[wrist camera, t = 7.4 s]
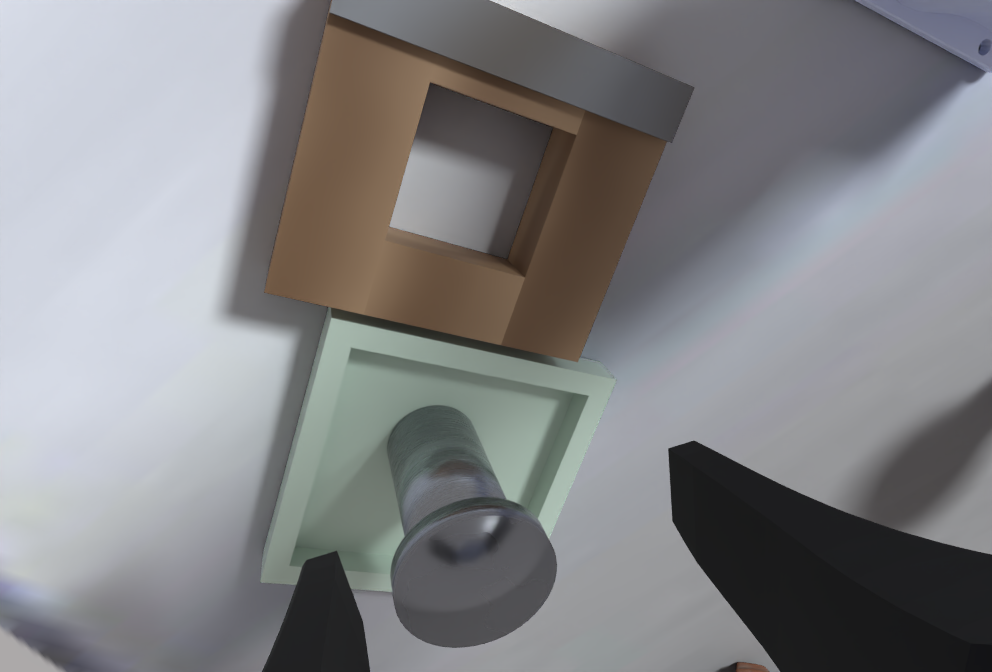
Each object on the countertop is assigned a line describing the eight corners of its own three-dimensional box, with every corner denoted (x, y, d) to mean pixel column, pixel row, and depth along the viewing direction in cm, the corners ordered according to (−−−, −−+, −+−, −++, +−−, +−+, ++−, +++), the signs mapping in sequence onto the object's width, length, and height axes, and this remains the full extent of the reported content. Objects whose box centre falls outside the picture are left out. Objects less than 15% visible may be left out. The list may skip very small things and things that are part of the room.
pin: (496, 385, 23) (564, 506, 17) (488, 489, 25) (548, 632, 19) (368, 394, 22) (393, 528, 16) (370, 502, 23) (394, 660, 17)
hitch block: (656, 83, 21) (694, 87, 19) (557, 338, 23) (581, 366, 21) (342, -47, 17) (346, -61, 15) (268, 270, 20) (263, 296, 18)
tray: (599, 361, 24) (616, 379, 23) (511, 574, 27) (522, 601, 26) (330, 300, 21) (331, 318, 19) (262, 552, 24) (260, 582, 22)
